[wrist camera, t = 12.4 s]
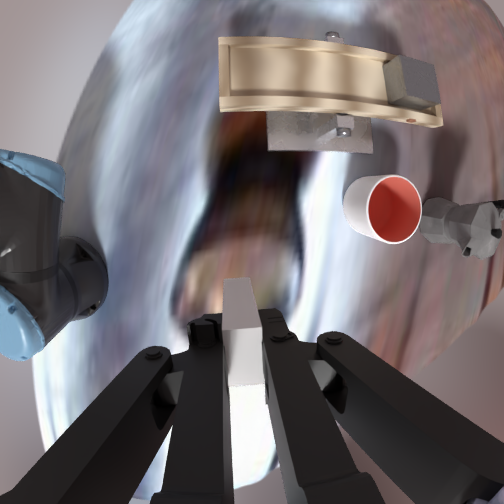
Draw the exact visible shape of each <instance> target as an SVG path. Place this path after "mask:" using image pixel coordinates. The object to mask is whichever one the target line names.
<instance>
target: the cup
mask: <svg viewBox="0 0 504 504" xmlns="http://www.w3.org/2000/svg"><path fill="white" fill-rule="evenodd" d="M343 211H344V215H345V218H346V220H347V222H348V223H349V225H350V226H351V227H352V228H353V229H354V230H355V231H357V232H358V233H361V234H363V235H366V236H369V237H372V238H374V239H377V240H380V241H383V242H385V243H389V244H398V243H402V242H404V241H406V240H407V239H409V238H410V237H411V236H412V235H413V234H414V233H415V231H416V230H417V228H418V226H419V223H420V220H421V214H422V204H421V199H420V195H419V193H418V191H417V189H416V187H415V186H414V185H413V184H412V183H411V182H410V181H409V180H408V179H406V178H405V177H403V176H400V175H380V176H366V177H362V178H359V179H357V180H356V181H354V182H353V183H352V184H351V185H350V186H349V187H348V189H347V191H346V193H345V196H344V200H343Z"/></svg>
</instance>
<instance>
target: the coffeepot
mask: <svg viewBox="0 0 504 504" xmlns="http://www.w3.org/2000/svg"><path fill="white" fill-rule="evenodd" d="M496 208H499V209H498V210H497V209H496ZM503 219H504V200H498V201H490V202H483V203H476V204H466V205H461V206H460V205H459V204H457V203H454V202H452V201H449V200H447V199H444V198H441V197H436V198H431V199H427V200H426V202H425V203H424V205H423V206H422V214H421V220H420V223H419V226H420V230H421V234H422V235H423V236H424V237H425V238H426V239H428V240H429V241H430V242H431V243H455V244H456V245H457V246H458V247H460V248H461V249H462V256H464V257H470V256H472V255H474V256H475V257H477V258H479V259H480V260H482V259H485V258H487V257H489V256H491V255H494V253H495V250H496V248H497V246H498V243H499V241H500V239H501V236H502V230H501V221H503Z"/></svg>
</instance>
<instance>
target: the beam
mask: <svg viewBox="0 0 504 504" xmlns="http://www.w3.org/2000/svg"><path fill="white" fill-rule="evenodd" d="M395 57H397V55H393V54H389V53H385V52H381V51H377V50H372V49H367V48H363V47H357V46H352V45H346V44H340V43H333V42H326V41H318V40H309V39H298V38H285V37H257V36H241V37H219V100H220V112H232V111H299V112H319V113H333V114H336V115H339V116H345V115H354V116H363V117H371V118H379V119H386V120H392V121H399V122H405V123H410V124H416V125H421V126H426V127H431V128H435V127H439V126H443V119H442V112H441V105H440V104H439V105H436V106H433V107H430V108H427V109H424V110H421V111H420V110H416V109H411V108H406V107H401V106H396V105H390V104H388V101H387V93H386V87H385V80H384V74H383V68H382V67H383V66H384V65H385V64H387V63H388V62H390V61H391V60H392V59H394V58H395Z"/></svg>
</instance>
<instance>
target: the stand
mask: <svg viewBox="0 0 504 504" xmlns="http://www.w3.org/2000/svg"><path fill="white" fill-rule="evenodd" d="M325 36H326V38H325V40H324V41H326V42H333V43H340V44H344V40H343V38H340V37H339V34H338V33H337V32H327V33H326V34H325ZM266 127H267V149H268V151H318V152H344V153H361V154H373V141H372V128H371V117H363V116H354V115H345V116H339V115H336V114H333V113H319V112H299V111H266Z"/></svg>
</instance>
